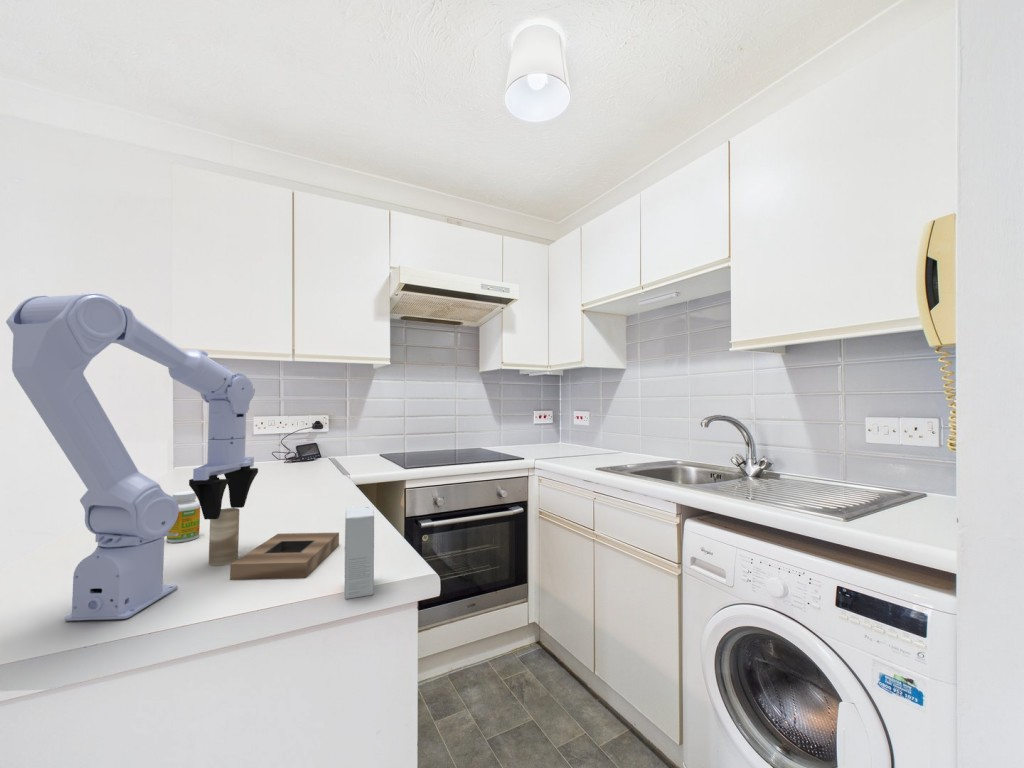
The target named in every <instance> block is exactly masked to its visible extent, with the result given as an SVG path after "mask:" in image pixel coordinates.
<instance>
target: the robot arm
mask: <svg viewBox="0 0 1024 768" xmlns="http://www.w3.org/2000/svg"><path fill="white" fill-rule="evenodd" d="M5 323H6V324H7V326H8V328H9V330H10V331H11V333H12V334H13V338H12V357H11V358H12V359H11V360H12V363H11V370H12V371H11V372H12V374H13V376H14V377H15V380H16V381H17V382H18V384H19V386H20V387H21V389H22V390H23V391H24V393H25V395H26V396H27V398H28V400H30V402H31V404H32V406H33V407H34V408H35V410H36V413H38V415H39V416H40V418H41V419H42V421H43V423H44V424H45V426H46V427H47V429H48V431H49V432H50V433H51V435H52V436H53V438H54V440H55V441H56V443H57V444H58V445H59V447H60V449H61V450H62V452H63V453H64V455H65V456H66V458H67V460H68V461H69V462H70V464H71V465H72V468H73V469H74V471H75V472H76V473H77V475H78V477H79V478H80V480H81V481H82V483H83V484H84V486H85V487H86V491H85V493H84V494H83V495H82V497H80V499H79V502H80V503H81V505H82V507H83V509H84V524H85V527H86V529H87V530H88V531H89V532H90V533H92V534H94V535H95V539H94V540H95V543H97V547H96V548H95V550H94V551H93V552H92V553H91V554H90V555H88V556H86V557H84V558H83V559H81V561H79V563H78V564H77V566H76V567H75V569H74V572H73V577H72V595H71V596H72V599H71V600H72V601H71V613H69V614H67V615H66V616H65V617H64V621H66V622H67V621H68V622H69V621H70V622H71V621H95V620H97V621H100V620H102V621H103V620H104V621H105V620H126V619H128V618H130V617H132V616H134V615H135V614H137V613H139V612H140V611H142V610H143V609H145V608H146V607H148V606H150V605H152V604H153V603H155V602H156V601H158V600H160V599H162V598H164V597H165V596H167V595H168V594H170V593H171V592H173V591H174V590H177V589H178V584H164V559H165V537H167V536H168V531H169V530H170V529H171V528H172V527H173V525H174V524H175V522H176V520H177V517H178V513H179V507H178V503H177V501H176V500H175V498H173V495H170V494H168V493H166V492H165V491H164V490H163V489H162V487H161V485H160V484H159V482H157V481H156V480H154V479H152V478H150V477H149V476H147V475H145V474H143V473H141V472H140V471H139V469H138V467H137V465H136V464H135V462H134V460H133V459H132V458H131V456H130V454H129V451H128V450H127V448H126V447H125V444H124V443H123V442H122V440H121V438H120V436H119V434H118V432H117V431H116V429H115V427H114V426H113V424H112V422H111V420H110V418H109V417H108V415H107V413H106V412H105V410H104V408H103V406H102V404H101V403H100V400H99V399H98V398H97V396H96V394H95V393H94V390H93V388H92V386H91V385H90V384H89V382H88V380H87V379H86V377H85V373H84V372H85V370H86V369H87V367H88V366H89V364H90V363H91V361H92V360H93V359H94V358H95V357H97V356H98V355H99V354H100V353H101V352H103V350H105V349H106V348H108V347H109V346H110V345H111V344H118V345H120V346H122V347H124V348H126V349H128V350H131V351H132V352H135V353H137V354H139V355H141V356H143V357H145V358H147V359H149V360H152V361H154V362H156V363H158V364H160V365H162V366H164V367H166V368H167V370H168V375H169V377H170V378H171V379H173V380H175V381H176V382H179V383H180V384H182V385H184V386H186V387H188V388H190V389H192V390H194V391H196V392H197V393H199V395H200V396H201V399H202V400H203V401H204V402H205V403H207V404H208V425H207V426H208V429H207V430H208V432H207V459H206V460H207V462H206V463H205V464H203V465H201V466H199V467H196V468H193V471H192V472H193V473H192V474H193V475H192V478H191V479H189V481H188V486H189V487H190V488H191V490H192V491H194V492H195V494H196V499H197V501H198V502H199V503H200V510H201V512H202V516H203V518H204V520H210V519H218V518H219V516H220V512H221V509H222V504H223V497H224V493H225V491H226V488H227V487H228V494H229V495H228V497H229V505H230V508H238V509H240V508H241V509H242V508H245V505H246V502H247V499H248V495H249V491H250V490H251V486H252V484H253V482H254V479H255V478H256V476H257V475H258V474H259V467H255V464H254V463H255V462H254V461H255V457H254V456H246V434H247V433H246V431H247V428H246V427H247V426H246V425H247V413H248V412H249V410H250V404H251V401H252V399H253V398H254V396H255V393H256V392H255V391H256V389H255V388H254V385H253V383H252V380H251V379H250V378H248V377H247V375H245V374H244V373H233V372H232V371H231V370H229V367H228V366H227V365H221V364H220V363H218V362H216V361H214V360H213V359H212V358H210V357H208V356H209V353H208V352H206V351H204V350H196V349H188V350H184V349H182V348H181V347H179V346H177V345H176V344H175V343H173V342H172V341H170V340H168V339H167V338H166V337H165V336H163V335H162V334H160V333H159V332H157V331H155V330H154V328H153V329H152V328H151V327H149V326H148V325H147V324H145V323H144V322H142V321H141V320H139V318H136V316H135V315H134V313H133V311H132V309H131V308H129V307H127V306H124V305H122V304H119V303H118V302H117V301H115V300H114V299H113V298H111V297H110V296H108V295H106V294H102V293H98V292H87V293H81V294H70V295H67V294H66V295H55V296H54V295H53V296H51V295H50V296H47V295H36V296H31V297H28V298H26V299H25V300H23V301H22V302H20V303H19V304H18V306H17V307H16V308H15V309H14V310H13V312H12V313H11V314H10V315H9V316H8V318H7V319H6V320H5ZM221 475H224V477H225V478H220V477H218V476H221Z"/></svg>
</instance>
